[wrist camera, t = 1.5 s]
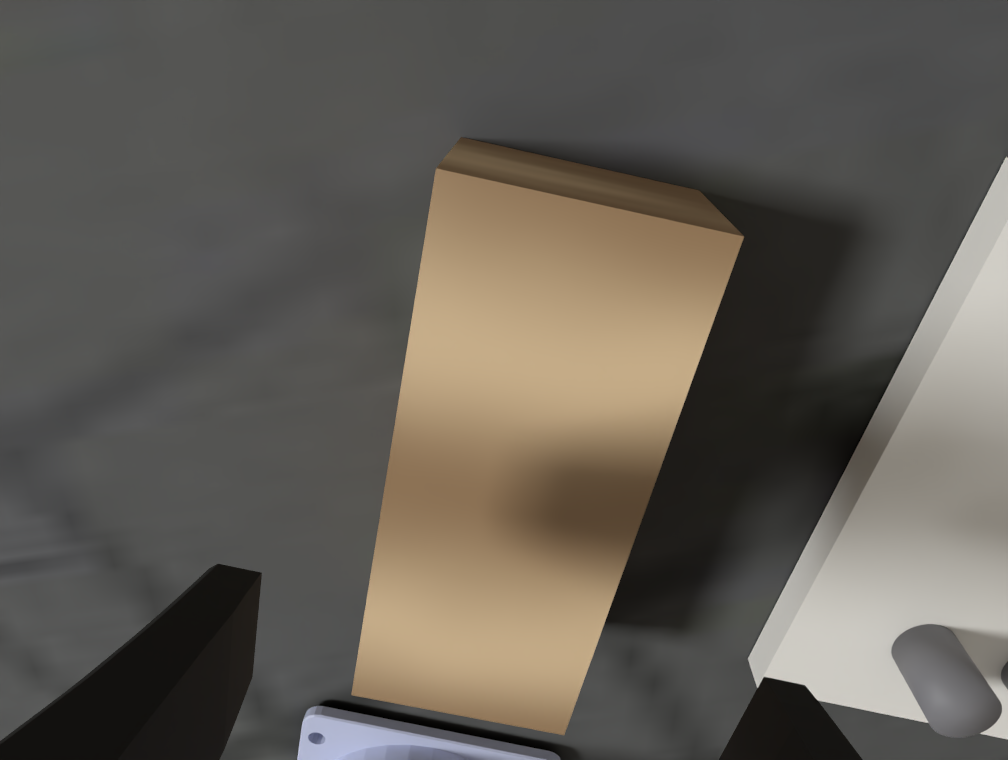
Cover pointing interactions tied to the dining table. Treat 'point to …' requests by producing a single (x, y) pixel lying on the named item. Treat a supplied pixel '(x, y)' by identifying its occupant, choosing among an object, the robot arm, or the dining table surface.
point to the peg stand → (918, 524)
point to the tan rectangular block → (531, 425)
